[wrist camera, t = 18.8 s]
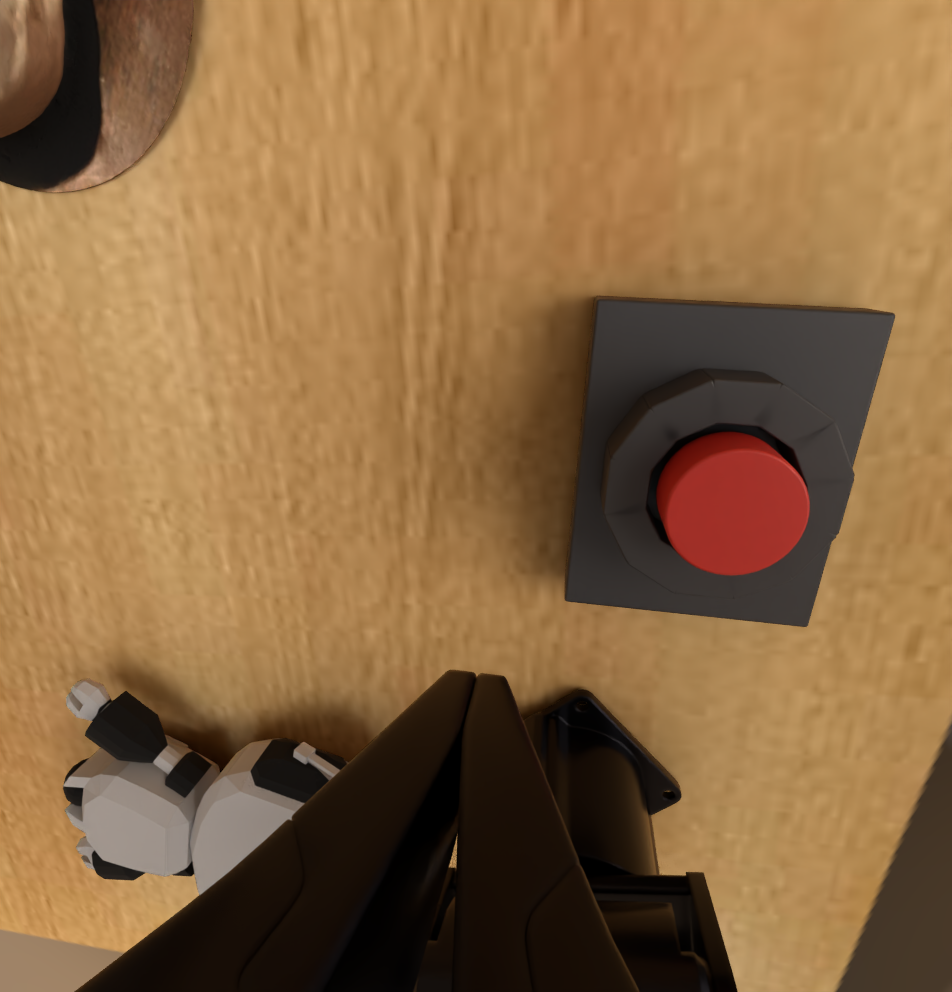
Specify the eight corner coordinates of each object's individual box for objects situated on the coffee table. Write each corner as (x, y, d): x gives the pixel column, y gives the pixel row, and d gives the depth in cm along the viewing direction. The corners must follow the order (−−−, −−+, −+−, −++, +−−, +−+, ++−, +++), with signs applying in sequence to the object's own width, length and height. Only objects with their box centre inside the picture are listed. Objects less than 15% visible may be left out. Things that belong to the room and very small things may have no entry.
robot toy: (120, 816, 32) (383, 916, 30) (46, 897, 28) (347, 1018, 26) (115, 628, 28) (427, 733, 26) (26, 692, 23) (390, 822, 22)
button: (772, 554, 18) (792, 583, 16) (647, 542, 18) (654, 569, 17) (801, 435, 16) (827, 454, 15) (665, 425, 17) (676, 443, 15)
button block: (790, 601, 22) (829, 661, 18) (564, 578, 22) (563, 631, 19) (868, 308, 18) (934, 319, 15) (594, 295, 19) (599, 302, 16)
